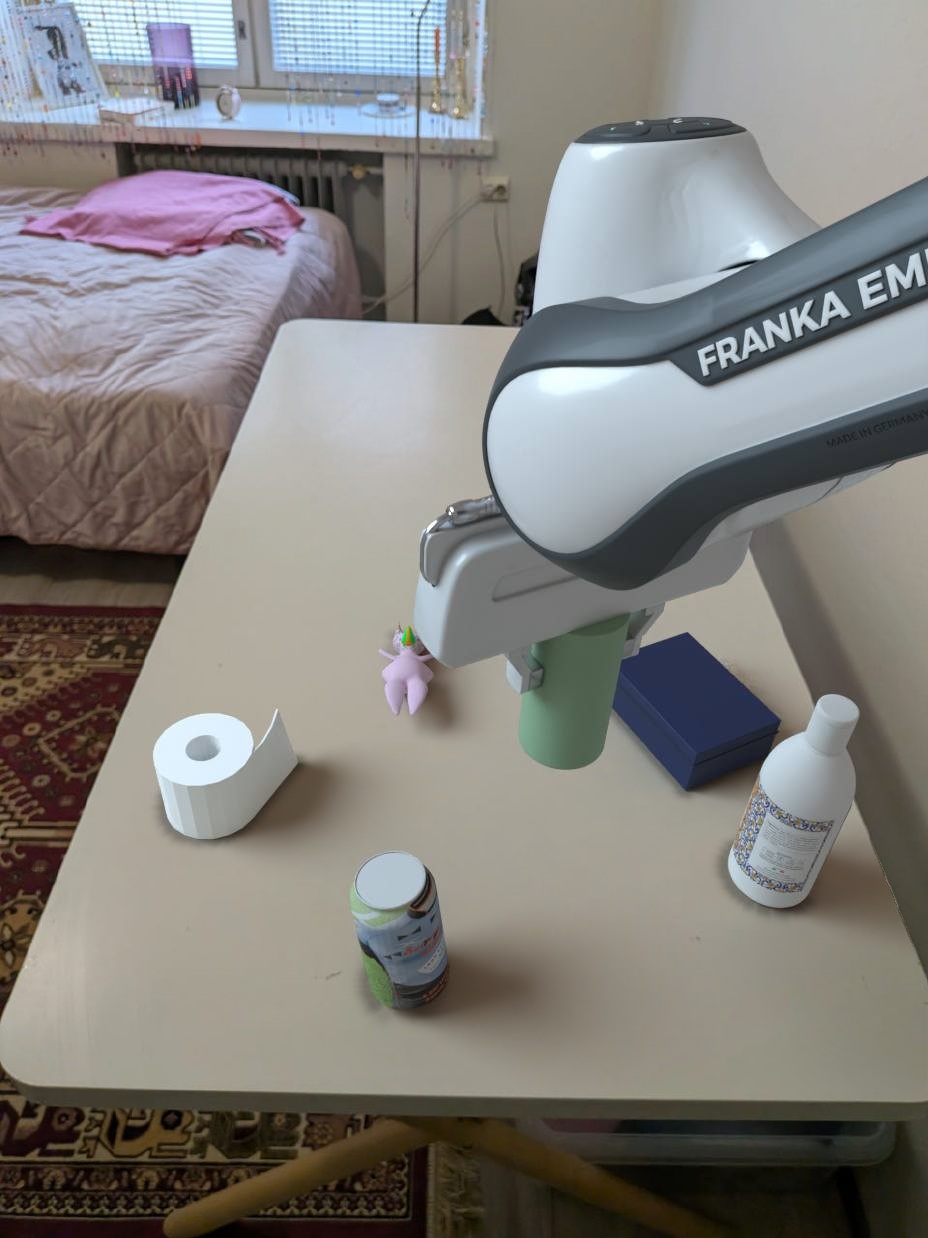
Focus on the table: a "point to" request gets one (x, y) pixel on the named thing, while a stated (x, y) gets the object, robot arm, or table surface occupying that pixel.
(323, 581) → the table surface
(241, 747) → the toilet paper
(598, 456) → the robot arm
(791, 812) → the bath foam
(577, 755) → the bottle
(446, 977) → the beverage can
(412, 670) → the pink toy figurine
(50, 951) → the table surface
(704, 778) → the case
